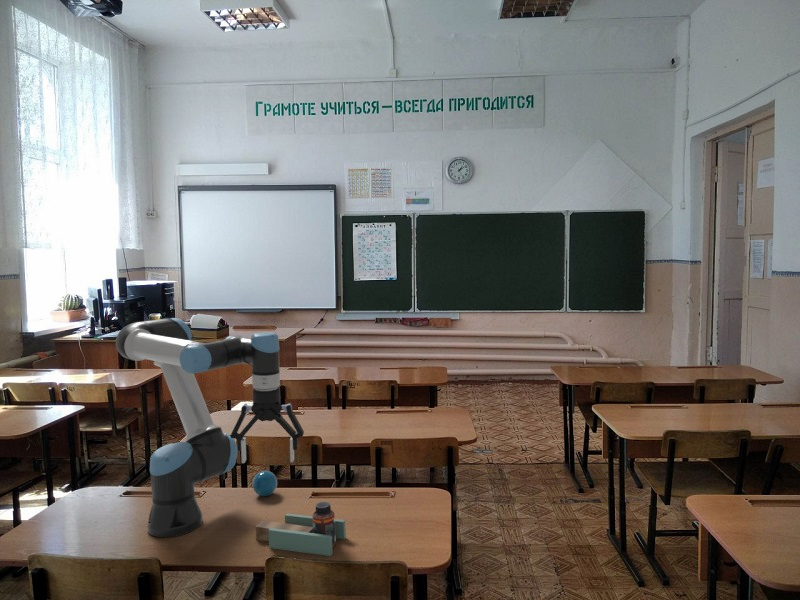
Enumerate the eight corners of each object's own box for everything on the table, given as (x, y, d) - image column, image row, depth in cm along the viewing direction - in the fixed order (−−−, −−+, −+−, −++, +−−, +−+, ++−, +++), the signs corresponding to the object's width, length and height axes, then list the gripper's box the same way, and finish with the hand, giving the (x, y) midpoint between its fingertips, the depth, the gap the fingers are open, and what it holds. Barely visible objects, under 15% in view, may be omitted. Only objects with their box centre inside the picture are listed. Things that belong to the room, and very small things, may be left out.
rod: (256, 540, 166) (255, 526, 166) (263, 533, 170) (263, 520, 170) (307, 548, 161) (307, 533, 161) (314, 541, 165) (313, 527, 164)
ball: (281, 491, 199) (280, 467, 199) (271, 501, 192) (270, 476, 191) (259, 489, 201) (258, 466, 201) (248, 499, 193) (247, 475, 193)
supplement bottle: (340, 541, 163) (338, 501, 162) (328, 552, 158) (326, 510, 157) (321, 538, 166) (319, 498, 165) (309, 547, 161) (307, 507, 160)
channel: (269, 547, 161) (268, 530, 161) (287, 530, 171) (286, 513, 171) (330, 556, 156) (330, 537, 155) (345, 537, 166) (345, 520, 165)
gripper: (217, 391, 163) (220, 466, 165) (309, 390, 164) (311, 464, 167) (224, 385, 171) (226, 457, 173) (312, 383, 172) (313, 455, 174)
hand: (268, 461), depth 170 cm, fingers open, 13 cm apart
